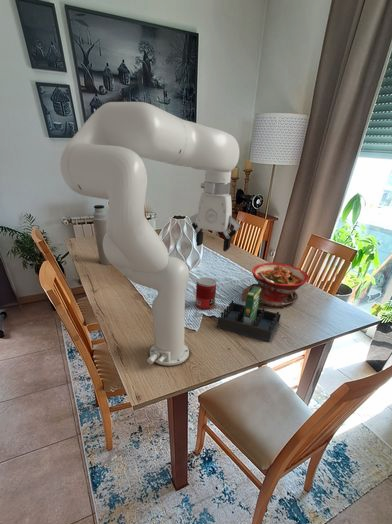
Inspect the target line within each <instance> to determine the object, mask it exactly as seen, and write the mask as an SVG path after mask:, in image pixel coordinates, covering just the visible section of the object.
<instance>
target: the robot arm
mask: <svg viewBox="0 0 392 524" xmlns="http://www.w3.org/2000/svg"><path fill="white" fill-rule="evenodd" d="M60 156H61V157H60V164H59V165H60V173H61V176H62V178H63V180H64V182H65V184H66V186H67V187H68V188H69V189H71V190H72V191H73V192H75V194H76V193H77V194H79V195H81V196H83V197H89V198H97V199H102V200H108V207H107V222H106V234H105V236H104V239H103V250H104V254H105V256H106V258H107V260H108V261H109V263H110V264H109V265H111V266H112V267H113V268H115V269H116V270H117V271H118V272H120V274H122V275H123V276H124V277H126V278H127V279H128V280H129V281H131V282H132V283H134V284H137V285H140V286H143V287H146V288H149V289H152V290H155V291H156V292H157V295H156V296H155V297H154V299H153V300H152V303H151V313H152V314H151V316H152V333H153V345H152V346H151V347H150V349H149V357H148V358H147V359H146V361H147V363H148V364H150V365H152V364H154V363H156V364H157V365H161V366H165V367H166V366H167V367H168V366H177V365H180V364H182V363H183V362H185V361H187V359H188V358H189V355H190V350H189V346H187V345H186V343H185V331H186V330H185V327H186V324H185V323H186V322H185V321H186V295H187V289H188V284H189V280H190V269H189V267H188V265H187V263H186V262H185V261H184V260H182V259H180V258H179V257H175V256H172V255H169V250H168V247H167V246H166V244H165V242H164V241H163V239H162V238H161V237H160V235H159V234H158V233H157V231H156V230H155V229H154V227H153V226H152V225H151V223H149V221H148V219H147V217H146V214H145V213H146V212H145V209H146V197H147V189H148V173H147V169H146V166H145V163H144V161H143V159H147V160H151V161H155V162H160V163H163V164H169V165H171V166H177V167H178V166H179V167H186V168H192V169H194V170H199V171H204V181H203V182H201V183H200V188H201V189H203V192H202V193H201V194H200V198H199V202H198V207H197V208H198V209H197V213H196V214H193V215H191V216H189V221H190V224H191V227H192V228H193V230H194V233H195V234H196V235H195V243H196V246H197V247H199V246H202V245H203V243H204V230H206V231H212V232H218V233H223V235H224V236H225V238H224V239H223V245H222V246H223V247H222V251H223V252H227V251H228V250H230V248H231V243H232V238H233V237H234V236H235V235H236V234H237V233H238V231H239V230H240V229H241V227H242V224H241V223H239V221H238V220H236V219H235V218H233V216H232V215H233V214H232V213H233V209H232V208H233V204H232V195H231V194H230V192H231V191H230V190H231V180H232V171H234V169H235V168H236V166H237V165H238V163H239V160H240V145H239V143H238V140H237V139H236V138H235V136H234V135H232V134H230V133H229V132H226V131H224V130H221V129H217V128H215V127H210V126H206V125H204V124H200V123H197V122H195V121H189V120H186V119H183V118H181V117H178V116H177V115H174V114H173V113H170V112H168V111H165V110H164V109H162V108H159V107H157V106H156V105H153V104H151V103H149V102H145V101H109V102H106V103H104V104H102V105H100V106H99V107H98V108H97V109H96V110H95V111H94V112H93V113H92V114H91V115H90V116H89V118H88V119H87V120H86V121H85V122H84V124H82V126H81V127H80V128H79V129H78V131H76V133H75V134H74V135H73V136H72V137H71V139H70V140H69V141H68V143H67V144H65V146H64V148H63V150H62V154H61V155H60ZM231 226H233V229H232V230H231V229H230V228H231Z"/></svg>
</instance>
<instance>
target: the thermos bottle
mask: <svg viewBox="0 0 392 524" xmlns="http://www.w3.org/2000/svg"><path fill="white" fill-rule="evenodd" d="M93 208H94V212H93V213H92V214H93V215H92V216H93V217H92V223H93V228H94V235H95V240H96V241H95V242H96V247H97V253H98V260H99V263H100V264H102V265H111V264H110V263H109V261H108V260H107V258H106V256H105V254H104V250H103V239H104V236H105V234H106V222H107V216H108V212H106V209H105V205H102V204H95V205H93Z"/></svg>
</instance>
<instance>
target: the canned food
mask: <svg viewBox="0 0 392 524" xmlns="http://www.w3.org/2000/svg"><path fill="white" fill-rule="evenodd" d="M195 287H196V289H195V306H196V307H197V309H200V310H207V311H208V310H212V309H213V308H214V307H215V305H216V304H215V303H216V292H217V280H216V279H214V278H212V277H206V276H205V277H199V278H197V279H196V285H195Z"/></svg>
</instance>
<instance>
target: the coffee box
mask: <svg viewBox="0 0 392 524" xmlns="http://www.w3.org/2000/svg"><path fill="white" fill-rule="evenodd" d="M260 292H261V288H260V287H256V286H254V287H253V288H252V290H251V291H250V292H249V293H248V294H247V299H246V302H245V304H246V305H245V304H244V305H245V311H244V317H243V323H244V324H248V325H251V324H252V323H253V321H254V320H255V319H256V314H257V309H259V306H258V302H259V297H260Z"/></svg>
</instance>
